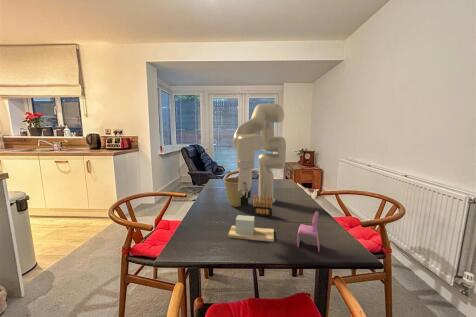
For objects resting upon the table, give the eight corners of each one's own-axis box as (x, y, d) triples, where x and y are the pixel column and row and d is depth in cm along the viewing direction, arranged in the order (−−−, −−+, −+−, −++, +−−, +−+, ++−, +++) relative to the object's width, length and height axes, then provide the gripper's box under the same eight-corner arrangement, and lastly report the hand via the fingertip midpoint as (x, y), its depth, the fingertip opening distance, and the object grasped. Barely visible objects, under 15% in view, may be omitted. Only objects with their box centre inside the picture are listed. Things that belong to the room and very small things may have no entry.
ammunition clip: (252, 214, 116) (253, 194, 114) (253, 213, 118) (253, 193, 116) (272, 216, 114) (272, 195, 112) (272, 215, 116) (272, 194, 114)
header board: (231, 227, 101) (231, 217, 100) (273, 231, 98) (274, 220, 97) (228, 237, 92) (228, 226, 92) (273, 241, 89) (274, 230, 88)
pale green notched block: (237, 228, 98) (237, 215, 97) (254, 229, 97) (254, 216, 96) (235, 233, 94) (235, 219, 93) (253, 234, 92) (253, 220, 92)
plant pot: (238, 211, 121) (238, 184, 119) (219, 205, 130) (219, 180, 127) (252, 203, 133) (253, 179, 130) (234, 198, 142) (234, 176, 139)
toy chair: (298, 238, 92) (299, 206, 90) (319, 242, 89) (321, 209, 86) (296, 248, 84) (297, 213, 82) (319, 253, 81) (321, 217, 79)
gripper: (240, 160, 100) (240, 194, 103) (233, 168, 83) (234, 209, 86) (256, 160, 99) (255, 195, 102) (252, 169, 82) (252, 210, 85)
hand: (245, 201), depth 94 cm, fingers open, 9 cm apart
